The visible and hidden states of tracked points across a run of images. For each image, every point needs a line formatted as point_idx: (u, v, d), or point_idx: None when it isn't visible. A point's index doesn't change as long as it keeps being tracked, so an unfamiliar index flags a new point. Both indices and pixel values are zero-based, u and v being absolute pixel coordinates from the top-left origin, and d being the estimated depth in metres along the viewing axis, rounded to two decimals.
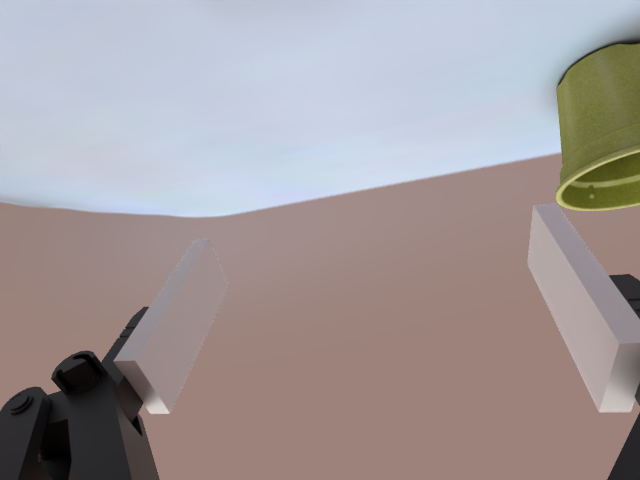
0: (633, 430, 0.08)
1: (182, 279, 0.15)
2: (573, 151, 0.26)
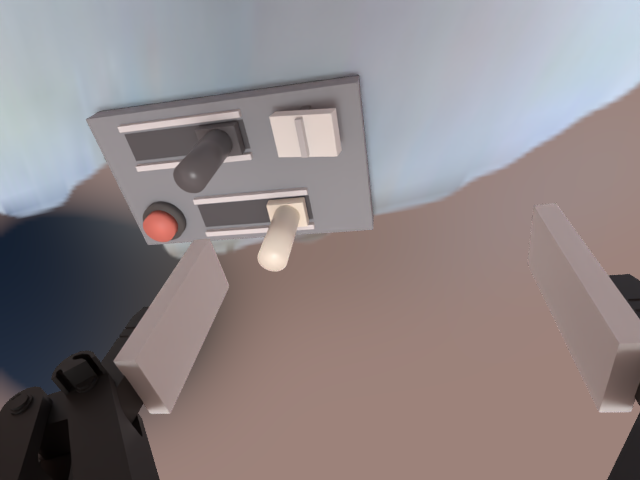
0: (633, 430, 0.08)
1: (182, 279, 0.15)
2: None
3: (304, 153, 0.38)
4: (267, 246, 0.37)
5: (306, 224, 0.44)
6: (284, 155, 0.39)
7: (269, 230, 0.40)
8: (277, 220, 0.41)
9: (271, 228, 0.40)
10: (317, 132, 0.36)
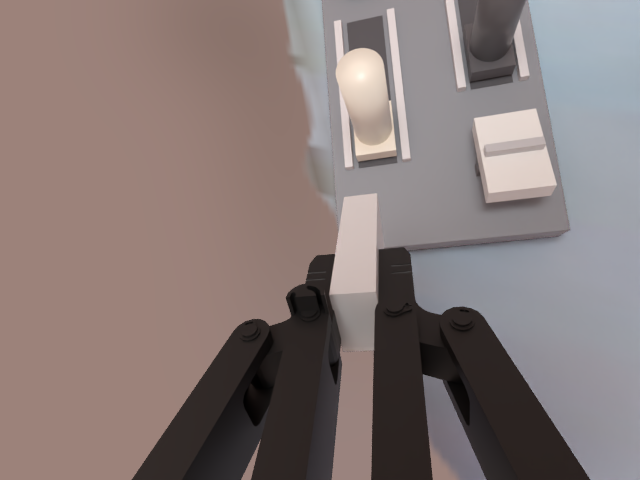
0: (374, 374, 0.10)
1: (355, 228, 0.16)
2: None
3: (492, 148, 0.27)
4: (383, 63, 0.23)
5: (358, 154, 0.31)
6: (478, 125, 0.28)
7: None
8: None
9: None
10: (523, 167, 0.26)
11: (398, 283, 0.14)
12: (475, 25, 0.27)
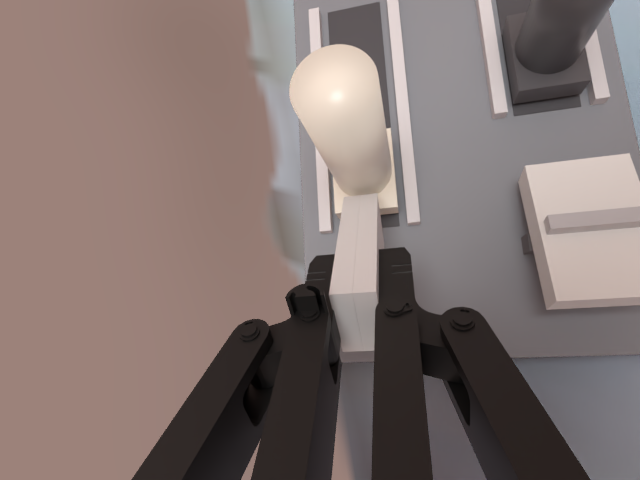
0: (375, 374, 0.10)
1: (355, 228, 0.16)
2: None
3: (561, 222, 0.16)
4: None
5: (339, 211, 0.20)
6: (532, 178, 0.17)
7: None
8: None
9: None
10: (615, 257, 0.15)
11: (398, 283, 0.14)
12: (532, 15, 0.16)
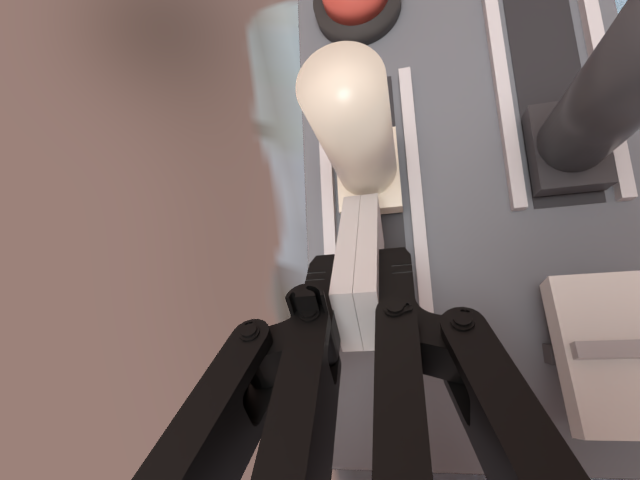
0: (375, 374, 0.10)
1: (355, 228, 0.16)
2: None
3: (589, 351, 0.15)
4: (385, 71, 0.12)
5: None
6: (557, 291, 0.16)
7: None
8: None
9: None
10: None
11: (399, 283, 0.14)
12: (559, 122, 0.15)
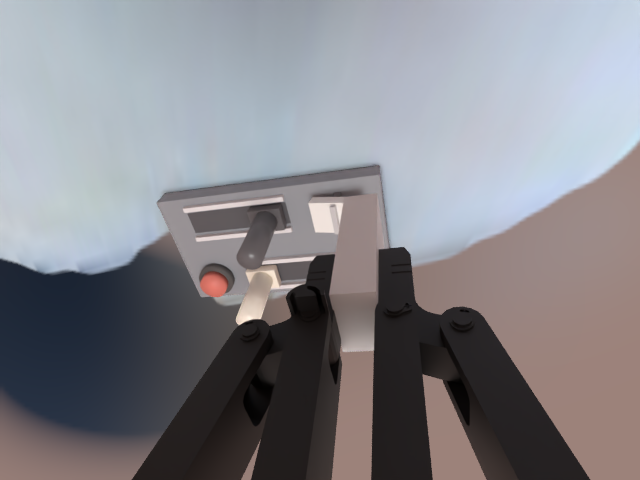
0: (374, 374, 0.10)
1: (355, 228, 0.16)
2: None
3: (337, 231, 0.46)
4: (242, 311, 0.48)
5: (278, 286, 0.55)
6: (320, 231, 0.48)
7: (246, 296, 0.50)
8: (253, 286, 0.51)
9: (247, 294, 0.50)
10: None
11: (398, 283, 0.14)
12: None
